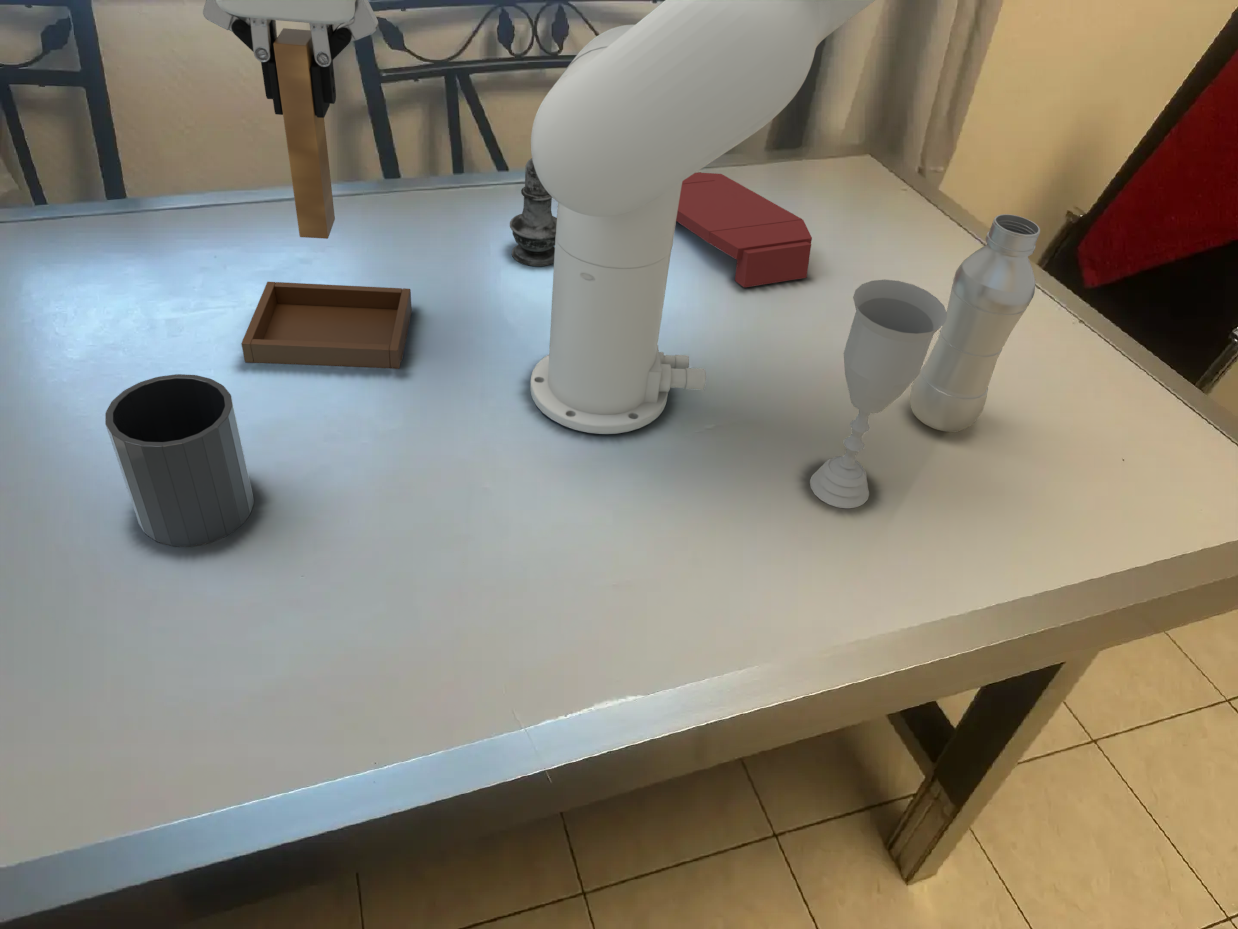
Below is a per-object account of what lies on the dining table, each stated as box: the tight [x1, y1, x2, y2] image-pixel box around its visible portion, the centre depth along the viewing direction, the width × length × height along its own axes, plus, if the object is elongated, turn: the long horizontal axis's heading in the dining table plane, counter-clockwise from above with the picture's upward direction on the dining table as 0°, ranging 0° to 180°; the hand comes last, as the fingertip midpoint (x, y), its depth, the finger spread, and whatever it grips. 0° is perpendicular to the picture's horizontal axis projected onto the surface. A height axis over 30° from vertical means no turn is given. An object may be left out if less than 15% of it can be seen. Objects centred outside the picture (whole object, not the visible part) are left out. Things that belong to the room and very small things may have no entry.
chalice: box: [809, 279, 947, 509], centre depth 75 cm, size 7×7×18 cm
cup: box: [104, 373, 255, 547], centre depth 69 cm, size 8×8×10 cm
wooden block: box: [273, 27, 336, 240], centre depth 78 cm, size 2×4×16 cm, turn 3°
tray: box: [240, 281, 413, 370], centre depth 90 cm, size 14×11×3 cm
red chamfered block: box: [676, 171, 813, 288], centre depth 114 cm, size 12×5×25 cm
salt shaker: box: [509, 157, 557, 267], centre depth 102 cm, size 6×6×12 cm
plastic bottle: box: [908, 213, 1041, 433], centre depth 83 cm, size 6×7×20 cm
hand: (302, 107), depth 76 cm, fingers closed on wooden block, 2 cm apart
